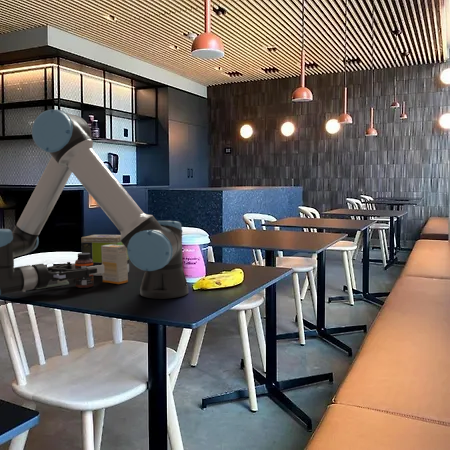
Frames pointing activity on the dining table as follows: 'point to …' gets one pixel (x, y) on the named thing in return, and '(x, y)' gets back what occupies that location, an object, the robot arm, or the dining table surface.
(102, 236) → the tea box
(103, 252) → the supplement box
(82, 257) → the supplement bottle
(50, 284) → the shallow beige box
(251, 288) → the dining table surface
